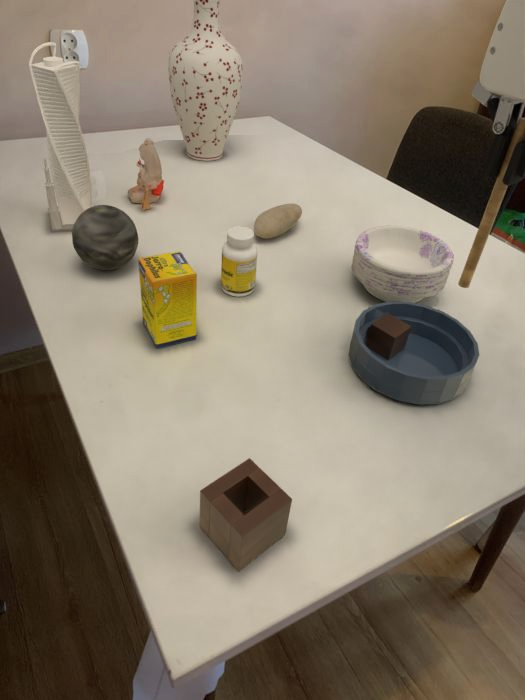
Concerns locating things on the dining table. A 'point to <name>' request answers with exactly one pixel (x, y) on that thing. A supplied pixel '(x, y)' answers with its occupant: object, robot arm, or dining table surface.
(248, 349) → the dining table surface
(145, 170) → the figurine
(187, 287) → the supplement box
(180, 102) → the vase
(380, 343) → the walnut cube
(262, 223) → the stone
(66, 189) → the skyscraper
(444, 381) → the stir bowl
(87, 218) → the decorative stone
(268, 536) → the stick holder
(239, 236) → the supplement bottle
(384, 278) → the paper bowls
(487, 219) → the bamboo stick
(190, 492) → the dining table surface
